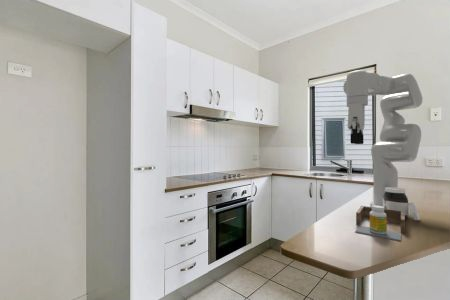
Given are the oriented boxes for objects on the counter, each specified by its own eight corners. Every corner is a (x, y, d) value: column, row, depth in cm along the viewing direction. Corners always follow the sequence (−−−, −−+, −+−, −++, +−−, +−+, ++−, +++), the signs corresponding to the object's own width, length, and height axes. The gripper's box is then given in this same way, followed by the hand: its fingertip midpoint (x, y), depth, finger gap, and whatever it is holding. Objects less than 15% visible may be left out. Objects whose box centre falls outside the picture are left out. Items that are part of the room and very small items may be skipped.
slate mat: (358, 226, 81) (358, 225, 81) (401, 234, 73) (401, 232, 73) (355, 232, 75) (355, 231, 75) (400, 241, 67) (400, 240, 67)
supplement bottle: (379, 235, 71) (378, 208, 71) (366, 230, 76) (366, 205, 76) (390, 233, 73) (390, 207, 73) (376, 228, 77) (376, 204, 77)
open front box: (361, 216, 93) (361, 205, 93) (404, 223, 84) (404, 211, 84) (356, 224, 82) (356, 212, 82) (404, 233, 74) (404, 220, 74)
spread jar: (380, 212, 99) (380, 186, 99) (411, 214, 96) (411, 187, 96) (390, 220, 88) (390, 190, 88) (425, 223, 84) (425, 192, 84)
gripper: (350, 106, 100) (350, 144, 100) (342, 99, 87) (342, 143, 87) (370, 104, 96) (370, 144, 96) (365, 96, 82) (365, 143, 82)
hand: (357, 143), depth 91 cm, fingers open, 9 cm apart
